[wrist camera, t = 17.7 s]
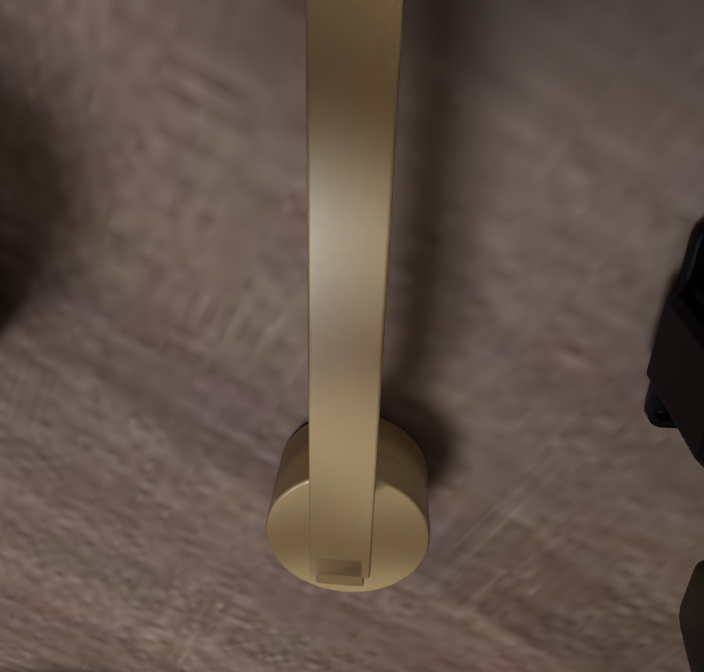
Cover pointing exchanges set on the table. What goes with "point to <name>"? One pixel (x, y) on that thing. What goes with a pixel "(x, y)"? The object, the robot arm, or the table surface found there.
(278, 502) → the ladle
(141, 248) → the table surface
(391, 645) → the table surface
